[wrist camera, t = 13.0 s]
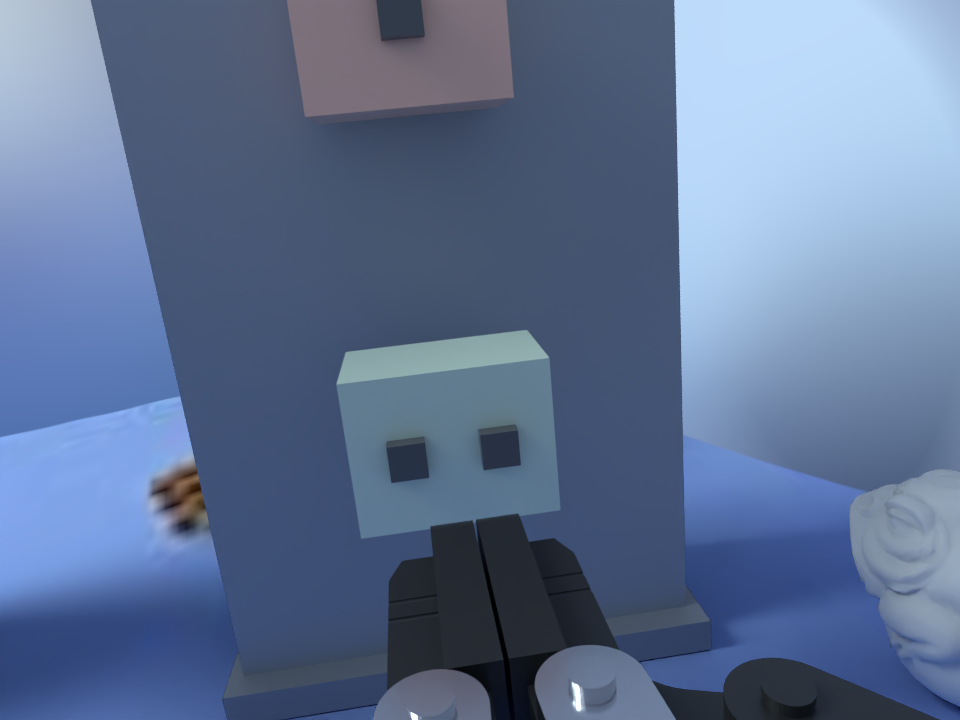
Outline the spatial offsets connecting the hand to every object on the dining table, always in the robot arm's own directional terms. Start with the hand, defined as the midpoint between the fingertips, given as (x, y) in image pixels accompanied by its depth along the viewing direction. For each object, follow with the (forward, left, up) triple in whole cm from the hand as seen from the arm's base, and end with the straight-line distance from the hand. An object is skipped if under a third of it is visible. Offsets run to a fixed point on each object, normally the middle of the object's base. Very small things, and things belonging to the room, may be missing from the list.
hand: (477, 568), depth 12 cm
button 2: (+3, +6, -2) cm, 7 cm away
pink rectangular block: (+4, +8, +8) cm, 12 cm away
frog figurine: (+17, -2, -11) cm, 20 cm away
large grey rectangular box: (+7, +12, -11) cm, 18 cm away
